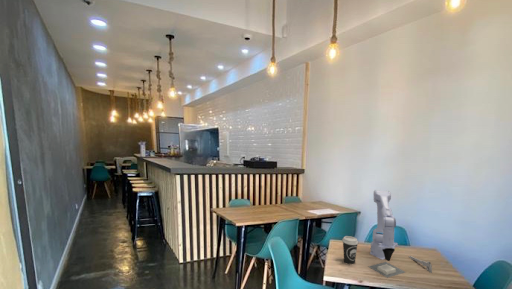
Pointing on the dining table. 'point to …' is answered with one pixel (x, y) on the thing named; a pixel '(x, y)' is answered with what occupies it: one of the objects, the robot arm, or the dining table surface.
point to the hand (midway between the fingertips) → (387, 260)
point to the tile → (386, 269)
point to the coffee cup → (349, 249)
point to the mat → (398, 271)
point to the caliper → (423, 263)
